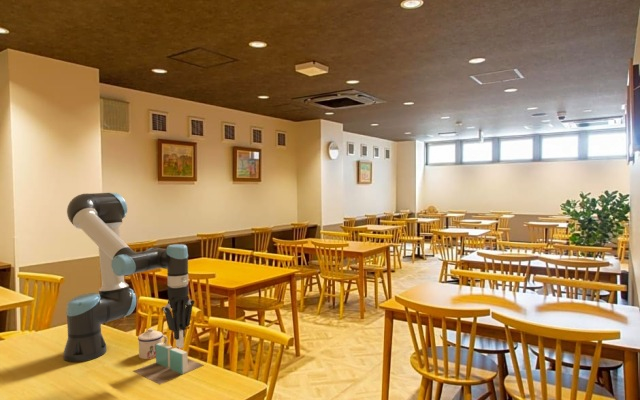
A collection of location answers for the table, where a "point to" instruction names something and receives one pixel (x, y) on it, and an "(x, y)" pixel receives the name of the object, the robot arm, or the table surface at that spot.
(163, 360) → the tile
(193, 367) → the walnut board
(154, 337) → the teacup with lid
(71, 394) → the table surface
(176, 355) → the tile
